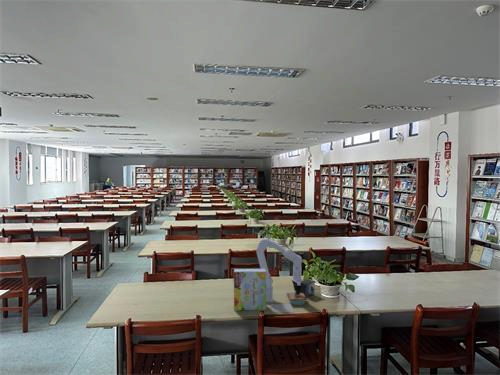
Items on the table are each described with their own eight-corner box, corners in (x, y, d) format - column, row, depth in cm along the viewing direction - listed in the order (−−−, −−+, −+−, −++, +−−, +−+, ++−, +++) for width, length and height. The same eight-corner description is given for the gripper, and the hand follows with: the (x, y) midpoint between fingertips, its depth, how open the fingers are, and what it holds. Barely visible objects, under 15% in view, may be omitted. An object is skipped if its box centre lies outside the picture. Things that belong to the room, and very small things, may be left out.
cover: (289, 300, 236) (289, 294, 235) (286, 294, 248) (286, 288, 247) (306, 300, 236) (306, 294, 236) (303, 294, 248) (303, 288, 248)
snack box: (265, 305, 236) (266, 268, 235) (266, 310, 228) (267, 271, 227) (233, 305, 235) (234, 268, 235) (233, 310, 227) (233, 271, 226)
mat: (272, 312, 224) (272, 312, 224) (270, 304, 238) (270, 304, 238) (293, 312, 225) (293, 312, 225) (290, 304, 239) (290, 303, 239)
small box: (304, 298, 252) (304, 283, 251) (298, 295, 257) (298, 281, 256) (314, 295, 258) (315, 281, 257) (308, 292, 263) (308, 279, 263)
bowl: (290, 305, 237) (290, 299, 237) (288, 300, 247) (288, 294, 247) (305, 305, 237) (305, 299, 237) (302, 300, 247) (302, 294, 247)
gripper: (305, 276, 234) (304, 296, 235) (301, 270, 249) (300, 289, 249) (294, 276, 234) (294, 296, 234) (291, 270, 248) (290, 289, 249)
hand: (296, 292), depth 242 cm, fingers open, 7 cm apart
